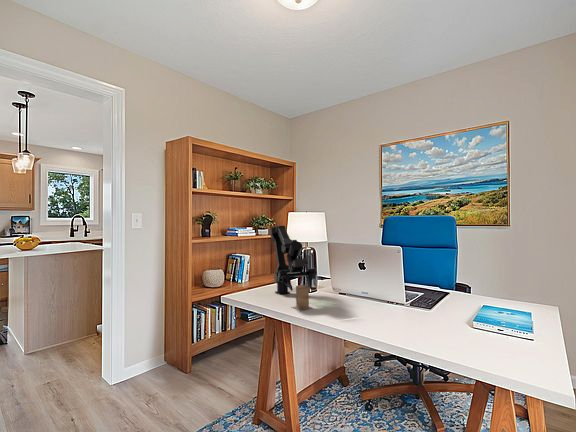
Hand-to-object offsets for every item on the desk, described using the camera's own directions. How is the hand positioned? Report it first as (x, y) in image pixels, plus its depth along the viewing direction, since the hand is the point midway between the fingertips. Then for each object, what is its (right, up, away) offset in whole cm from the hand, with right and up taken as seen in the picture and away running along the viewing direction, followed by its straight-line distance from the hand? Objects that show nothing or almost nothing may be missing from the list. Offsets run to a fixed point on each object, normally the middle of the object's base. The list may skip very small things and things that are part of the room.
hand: (301, 289), depth 146 cm
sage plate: (+11, -9, +5) cm, 15 cm away
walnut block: (0, -8, -1) cm, 8 cm away
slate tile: (0, -9, -1) cm, 9 cm away
